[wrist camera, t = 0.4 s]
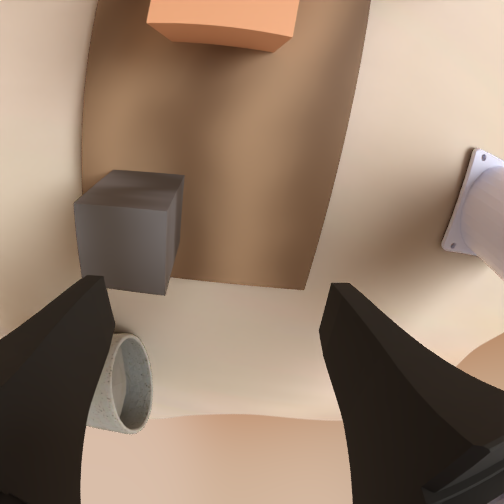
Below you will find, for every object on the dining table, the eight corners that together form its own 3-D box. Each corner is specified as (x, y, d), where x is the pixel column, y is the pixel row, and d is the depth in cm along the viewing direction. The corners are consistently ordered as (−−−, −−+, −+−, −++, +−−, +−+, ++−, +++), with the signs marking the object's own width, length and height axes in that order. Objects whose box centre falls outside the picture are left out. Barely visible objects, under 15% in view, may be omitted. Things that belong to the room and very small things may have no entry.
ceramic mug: (46, 316, 21) (10, 388, 15) (129, 311, 21) (102, 398, 15) (97, 392, 27) (81, 455, 20) (170, 392, 27) (163, 464, 20)
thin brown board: (371, -46, 10) (420, -80, 5) (301, 282, 21) (321, 346, 16) (127, -76, 8) (93, -119, 3) (93, 260, 19) (58, 317, 14)
